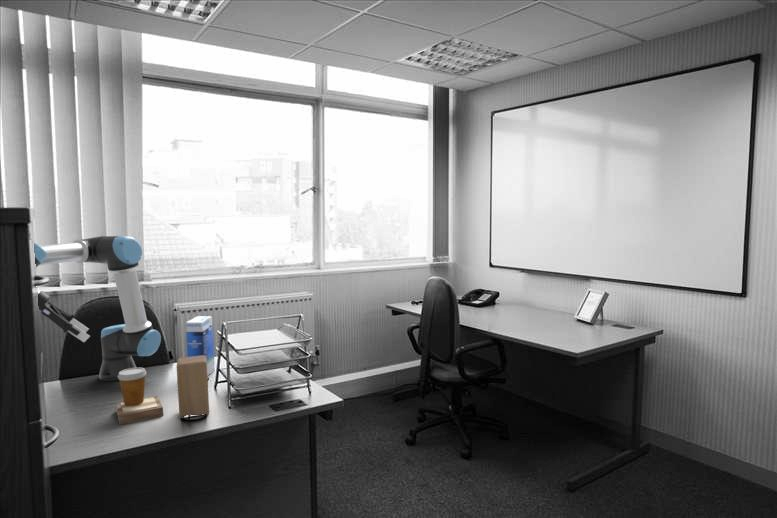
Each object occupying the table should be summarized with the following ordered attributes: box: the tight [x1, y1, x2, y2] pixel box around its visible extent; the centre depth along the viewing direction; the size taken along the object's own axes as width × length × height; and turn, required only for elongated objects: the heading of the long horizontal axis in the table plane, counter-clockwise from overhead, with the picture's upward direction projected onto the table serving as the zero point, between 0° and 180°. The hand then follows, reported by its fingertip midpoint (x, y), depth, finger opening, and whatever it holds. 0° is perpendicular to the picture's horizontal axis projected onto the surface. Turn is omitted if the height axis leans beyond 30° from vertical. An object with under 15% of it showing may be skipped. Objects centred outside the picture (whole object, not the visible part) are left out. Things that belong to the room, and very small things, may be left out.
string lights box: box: [185, 315, 216, 377], centre depth 225 cm, size 13×8×26 cm, turn 0°
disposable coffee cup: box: [118, 367, 147, 406], centre depth 184 cm, size 10×10×12 cm
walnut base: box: [115, 395, 164, 425], centre depth 182 cm, size 14×14×3 cm
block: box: [176, 355, 210, 419], centre depth 181 cm, size 10×10×20 cm
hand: (86, 335), depth 179 cm, fingers open, 13 cm apart
